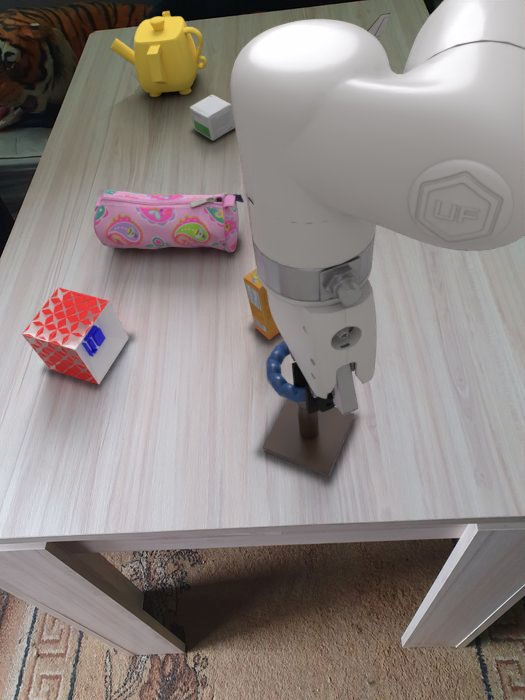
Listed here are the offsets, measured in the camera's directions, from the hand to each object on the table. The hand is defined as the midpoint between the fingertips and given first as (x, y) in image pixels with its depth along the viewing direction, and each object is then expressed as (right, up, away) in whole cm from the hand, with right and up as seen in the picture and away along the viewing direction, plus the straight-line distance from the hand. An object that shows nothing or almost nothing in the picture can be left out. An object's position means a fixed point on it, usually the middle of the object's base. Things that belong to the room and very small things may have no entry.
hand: (316, 393), depth 48 cm
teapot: (-25, +60, +63) cm, 91 cm away
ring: (-1, +2, +1) cm, 3 cm away
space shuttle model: (+8, +59, +58) cm, 83 cm away
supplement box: (-4, +7, +23) cm, 24 cm away
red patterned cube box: (-28, +3, +23) cm, 37 cm away
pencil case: (-18, +21, +34) cm, 44 cm away
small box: (-14, +46, +51) cm, 70 cm away
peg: (0, -6, +13) cm, 14 cm away
